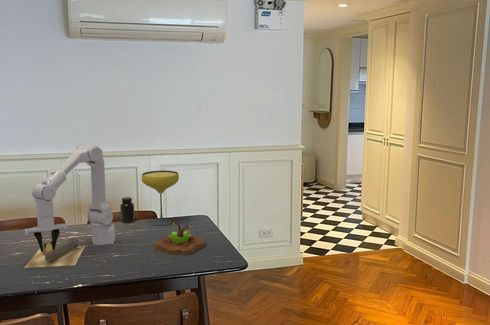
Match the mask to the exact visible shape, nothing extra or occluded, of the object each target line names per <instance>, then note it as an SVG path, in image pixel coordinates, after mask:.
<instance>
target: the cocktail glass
mask: <svg viewBox="0 0 490 325" xmlns="http://www.w3.org/2000/svg"><path fill="white" fill-rule="evenodd" d="M179 179H180V176H179V172H178V171H175V170H154V171H153V170H151V171H150V170H149V171H146V172H143V173H142V174H141V182H142V183H143V185H145V186H147V187H149V188H150V189H151V188H152V189H153V190H156V192H157V193H158V194H159V195H160V196H159V198H160V204H159V205H160V215H159V216H160V218H158V219H154V220H152V221H150V224H151V225H152V226H160V227H161V226H163V227H164V226H168V225H171V224H173V220H171V219H167V218H164V217H163V204H162V201H163V200H162V199H163V198H162V194H163V193H164V192H165V191H166V190H167V189H170V188H171V187H172V186H174V185H176V184H177V183H178V181H179Z"/></svg>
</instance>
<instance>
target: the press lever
mask: <svg viewBox="0 0 490 325" xmlns="http://www.w3.org/2000/svg"><path fill="white" fill-rule="evenodd" d="M43 245H44V250H45V261H51V260H53V259H55V258H57V257H58V256H60V255H62V254H64V253H66V252H67V251H69V250H71V249H73V248H76V247H78V246H79V239H78V238H76V237H72V238H69V239H68V241H66V242H64V243H62V244H59V245H60V246H58V247H56V248H55V250H53V242H52V240H47V241H44V242H43Z"/></svg>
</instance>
